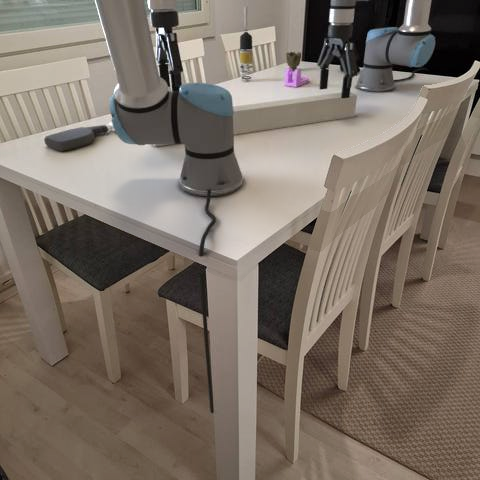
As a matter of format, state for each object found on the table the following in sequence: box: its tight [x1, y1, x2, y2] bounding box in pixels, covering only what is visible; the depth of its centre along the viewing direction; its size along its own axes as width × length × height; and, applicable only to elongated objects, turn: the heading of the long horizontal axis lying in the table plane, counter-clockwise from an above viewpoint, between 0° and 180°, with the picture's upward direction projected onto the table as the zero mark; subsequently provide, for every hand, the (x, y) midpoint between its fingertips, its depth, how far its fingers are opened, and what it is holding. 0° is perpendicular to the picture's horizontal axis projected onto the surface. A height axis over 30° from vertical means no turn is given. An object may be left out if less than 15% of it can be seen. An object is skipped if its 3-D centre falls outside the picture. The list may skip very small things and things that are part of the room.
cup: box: [285, 51, 302, 72], centre depth 220 cm, size 8×7×8 cm
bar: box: [152, 91, 358, 148], centre depth 144 cm, size 71×5×7 cm, turn 112°
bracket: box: [284, 67, 310, 88], centre depth 196 cm, size 13×6×7 cm, turn 143°
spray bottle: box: [44, 121, 115, 152], centre depth 139 cm, size 3×11×25 cm
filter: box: [239, 6, 253, 82], centre depth 196 cm, size 6×6×30 cm
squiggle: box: [335, 47, 361, 73], centre depth 214 cm, size 11×10×15 cm
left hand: (171, 92), depth 130 cm, fingers open, 13 cm apart
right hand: (333, 93), depth 151 cm, fingers open, 13 cm apart
